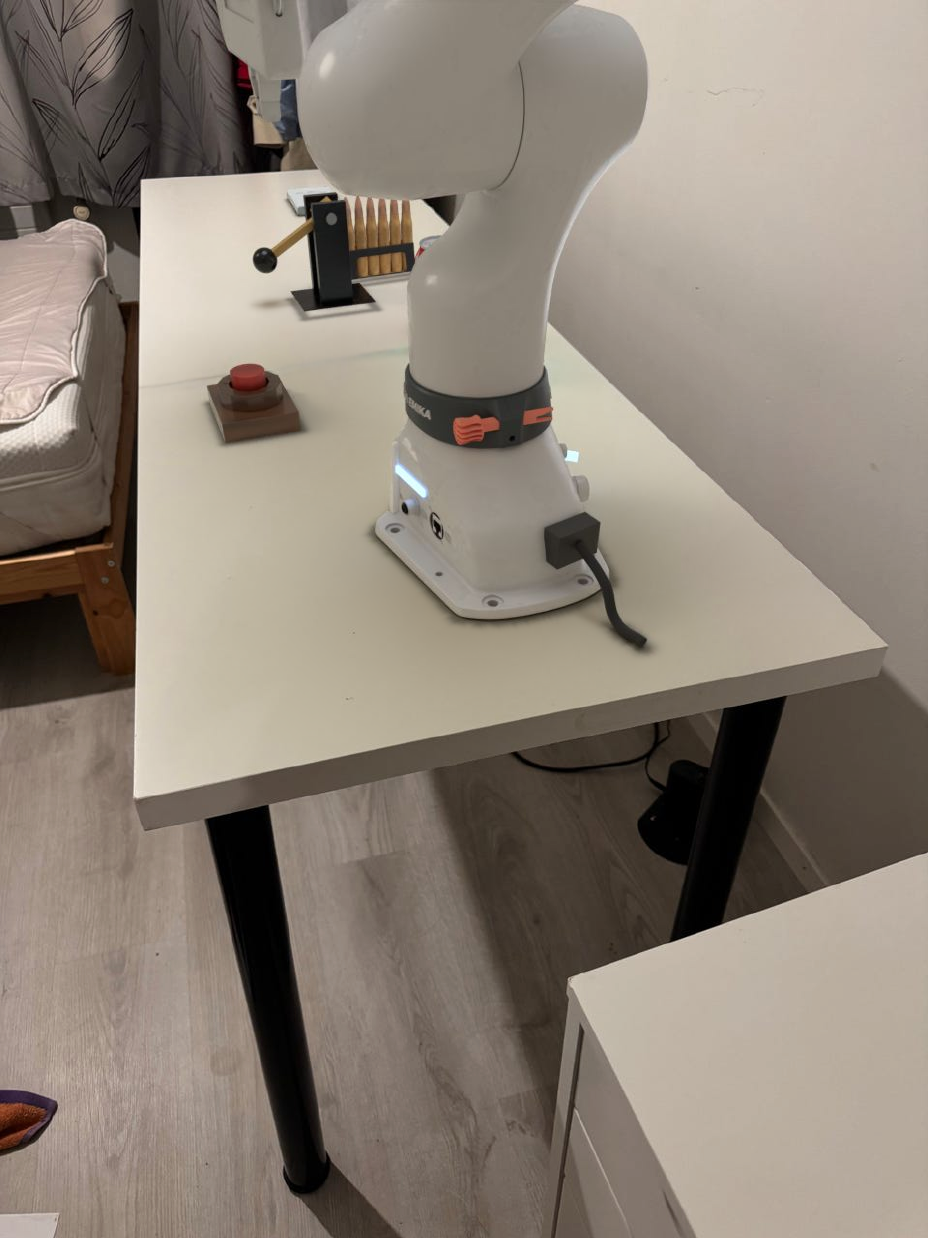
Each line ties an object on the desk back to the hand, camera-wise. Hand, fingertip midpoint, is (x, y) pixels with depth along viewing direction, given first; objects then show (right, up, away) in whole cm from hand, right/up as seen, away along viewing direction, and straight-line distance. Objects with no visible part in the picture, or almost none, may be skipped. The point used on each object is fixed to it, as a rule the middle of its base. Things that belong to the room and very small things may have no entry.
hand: (269, 119), depth 88 cm
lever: (-2, 0, +30) cm, 30 cm away
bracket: (+1, -6, +36) cm, 36 cm away
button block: (-4, -27, +9) cm, 29 cm away
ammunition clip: (+7, 0, +44) cm, 44 cm away
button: (-4, -24, +7) cm, 26 cm away
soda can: (+17, -14, +27) cm, 34 cm away
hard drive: (-8, +26, +75) cm, 80 cm away
